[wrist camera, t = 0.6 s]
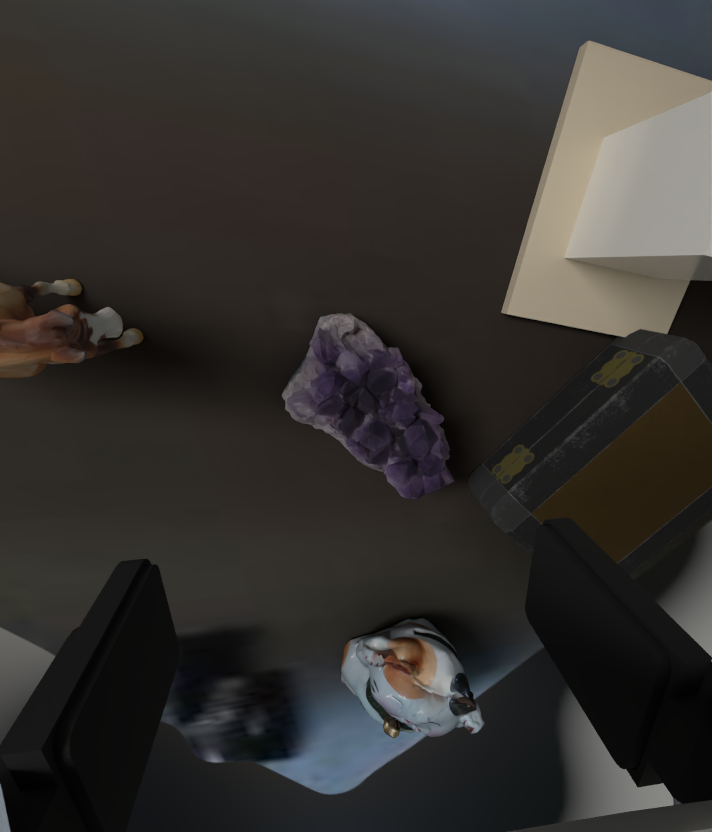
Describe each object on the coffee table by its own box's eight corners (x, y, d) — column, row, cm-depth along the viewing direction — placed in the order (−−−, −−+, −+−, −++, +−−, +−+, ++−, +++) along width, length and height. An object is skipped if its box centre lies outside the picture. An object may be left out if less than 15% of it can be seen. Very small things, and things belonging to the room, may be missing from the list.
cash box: (557, 566, 55) (595, 612, 48) (459, 480, 48) (486, 518, 41) (714, 434, 50) (783, 463, 43) (630, 320, 44) (693, 331, 37)
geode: (476, 417, 46) (510, 470, 37) (398, 480, 49) (413, 541, 40) (344, 284, 38) (348, 308, 30) (265, 368, 42) (246, 412, 33)
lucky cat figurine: (316, 664, 55) (323, 734, 40) (375, 577, 58) (402, 611, 43) (416, 739, 55) (461, 836, 40) (470, 648, 58) (530, 708, 43)
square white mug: (579, 47, 35) (787, -117, 20) (754, 104, 38) (1049, -1, 23) (501, 312, 42) (610, 340, 27) (653, 342, 45) (827, 382, 30)
